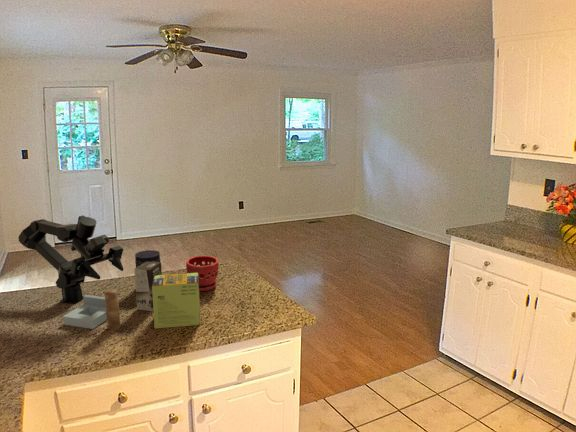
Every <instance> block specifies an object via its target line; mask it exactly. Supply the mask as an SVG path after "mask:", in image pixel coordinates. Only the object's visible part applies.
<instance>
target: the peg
mask: <svg viewBox="0 0 576 432" xmlns="http://www.w3.org/2000/svg"><path fill="white" fill-rule="evenodd" d="M104 297H105V304H106V315H107V320H106V322H107V323H106V324H107V330H108V331H116V330H119V329H120V328H121V320H120V318H121V316H120V307H119V306H120V305H119V296H118V290H117V289H115V288H114V289H111V288H110V289H107V290H105V291H104Z"/></svg>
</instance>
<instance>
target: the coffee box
mask: <svg viewBox="0 0 576 432" xmlns="http://www.w3.org/2000/svg"><path fill="white" fill-rule="evenodd" d="M157 275H163V272H162V262H161V261H160V262H147V261H146V262H145V263H143V264H142V265H140V266H138V267H137V268H136V267H134V280H135V281H134V282H135V297H136V299H135V300H136V310H139V311H148V312H152V311H153V296H152V284H153V281H154V276H157Z"/></svg>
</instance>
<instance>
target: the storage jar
mask: <svg viewBox="0 0 576 432" xmlns="http://www.w3.org/2000/svg"><path fill="white" fill-rule="evenodd" d="M134 257H135V260H134V261H135V262H134V263H135V268H137V267H138V266H140V265H142V264H143V263H145V262H146V261H147V262H161V253H160V251H157V250H154V249H153V250H152V249H151V250H150V249H149V250H141V251H138V252H136V253H135V254H134Z"/></svg>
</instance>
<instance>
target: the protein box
mask: <svg viewBox="0 0 576 432" xmlns="http://www.w3.org/2000/svg"><path fill="white" fill-rule="evenodd" d="M152 296H153V326H154V327H153V328H154V329H163V328H166V329H167V328H178V327H188V326H189V327H191V326H199V325H201V305H200V291H199V280H198V273H187V272H186V273H171V274H162V275H157V276H154V281H153V284H152Z"/></svg>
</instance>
